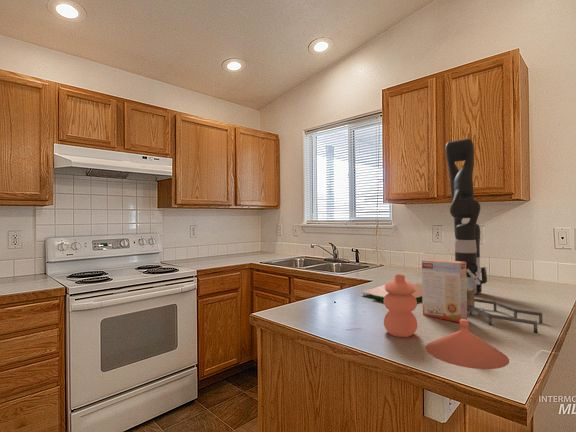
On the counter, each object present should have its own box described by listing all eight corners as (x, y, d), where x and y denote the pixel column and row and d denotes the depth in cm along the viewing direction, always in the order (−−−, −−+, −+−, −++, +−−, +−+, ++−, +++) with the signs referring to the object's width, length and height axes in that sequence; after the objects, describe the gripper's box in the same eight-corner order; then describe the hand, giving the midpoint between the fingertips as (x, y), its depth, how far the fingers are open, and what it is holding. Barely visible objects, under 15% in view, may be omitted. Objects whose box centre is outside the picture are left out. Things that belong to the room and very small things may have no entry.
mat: (448, 310, 135) (448, 310, 135) (456, 305, 144) (456, 304, 144) (476, 315, 129) (476, 314, 129) (483, 309, 137) (483, 308, 137)
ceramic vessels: (523, 355, 92) (522, 284, 92) (491, 380, 78) (489, 296, 78) (405, 324, 119) (404, 269, 119) (366, 339, 105) (365, 277, 106)
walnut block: (457, 309, 136) (456, 289, 136) (460, 307, 140) (460, 287, 140) (471, 311, 133) (470, 290, 133) (474, 309, 136) (474, 288, 137)
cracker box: (468, 320, 123) (467, 261, 123) (460, 323, 119) (460, 262, 119) (429, 312, 134) (429, 258, 134) (422, 315, 130) (421, 259, 130)
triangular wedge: (357, 299, 157) (356, 281, 157) (398, 289, 178) (398, 273, 178) (402, 309, 139) (401, 289, 139) (442, 297, 160) (441, 279, 160)
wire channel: (432, 314, 130) (432, 305, 130) (451, 303, 146) (451, 295, 147) (537, 333, 109) (537, 322, 109) (545, 317, 125) (545, 307, 125)
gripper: (443, 250, 138) (444, 291, 138) (483, 253, 129) (484, 296, 129) (449, 249, 144) (450, 288, 144) (488, 251, 134) (488, 293, 134)
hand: (466, 292), depth 136 cm, fingers open, 8 cm apart
